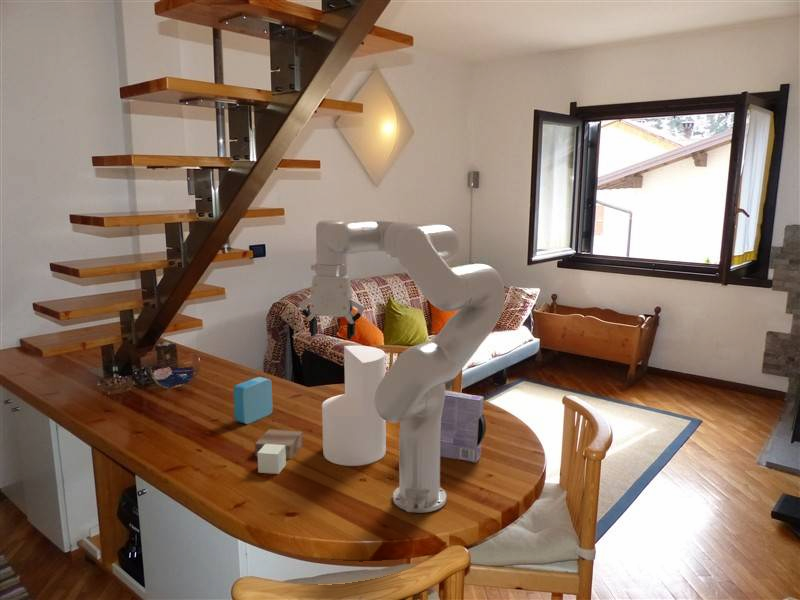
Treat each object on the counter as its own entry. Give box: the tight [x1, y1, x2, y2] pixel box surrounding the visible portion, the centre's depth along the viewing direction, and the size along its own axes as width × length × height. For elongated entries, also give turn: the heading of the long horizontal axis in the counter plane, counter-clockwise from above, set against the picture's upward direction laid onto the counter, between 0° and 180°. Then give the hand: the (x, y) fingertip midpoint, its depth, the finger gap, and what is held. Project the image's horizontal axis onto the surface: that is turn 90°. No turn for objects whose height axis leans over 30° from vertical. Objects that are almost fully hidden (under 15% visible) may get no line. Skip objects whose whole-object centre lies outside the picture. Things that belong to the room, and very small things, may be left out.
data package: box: [233, 376, 274, 425], centre depth 191 cm, size 12×4×12 cm, turn 146°
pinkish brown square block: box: [254, 428, 304, 460], centre depth 169 cm, size 10×10×4 cm
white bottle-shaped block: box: [321, 345, 387, 467], centre depth 165 cm, size 17×17×28 cm
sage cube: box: [257, 444, 287, 475], centre depth 158 cm, size 6×6×6 cm
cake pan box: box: [440, 390, 487, 464], centre depth 164 cm, size 19×5×18 cm, turn 68°
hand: (332, 336), depth 155 cm, fingers open, 9 cm apart
